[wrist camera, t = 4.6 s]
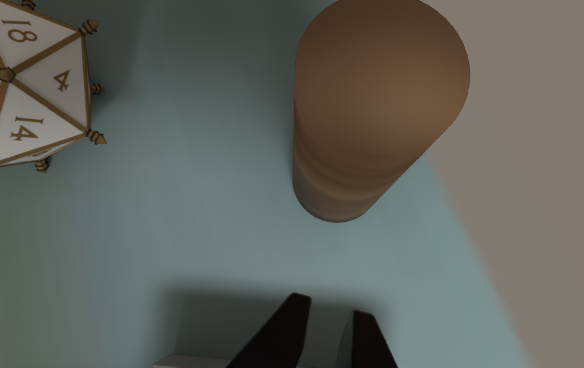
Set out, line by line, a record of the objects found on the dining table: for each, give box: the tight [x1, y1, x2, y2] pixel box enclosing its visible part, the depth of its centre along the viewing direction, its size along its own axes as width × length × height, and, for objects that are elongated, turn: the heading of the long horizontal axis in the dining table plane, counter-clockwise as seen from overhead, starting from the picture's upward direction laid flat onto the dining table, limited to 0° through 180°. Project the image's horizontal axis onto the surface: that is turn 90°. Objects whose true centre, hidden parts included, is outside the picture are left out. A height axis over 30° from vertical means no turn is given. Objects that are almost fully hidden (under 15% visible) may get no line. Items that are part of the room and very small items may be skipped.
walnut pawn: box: [293, 0, 470, 223], centre depth 17 cm, size 4×4×12 cm
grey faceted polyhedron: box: [0, 0, 107, 174], centre depth 20 cm, size 9×8×10 cm
